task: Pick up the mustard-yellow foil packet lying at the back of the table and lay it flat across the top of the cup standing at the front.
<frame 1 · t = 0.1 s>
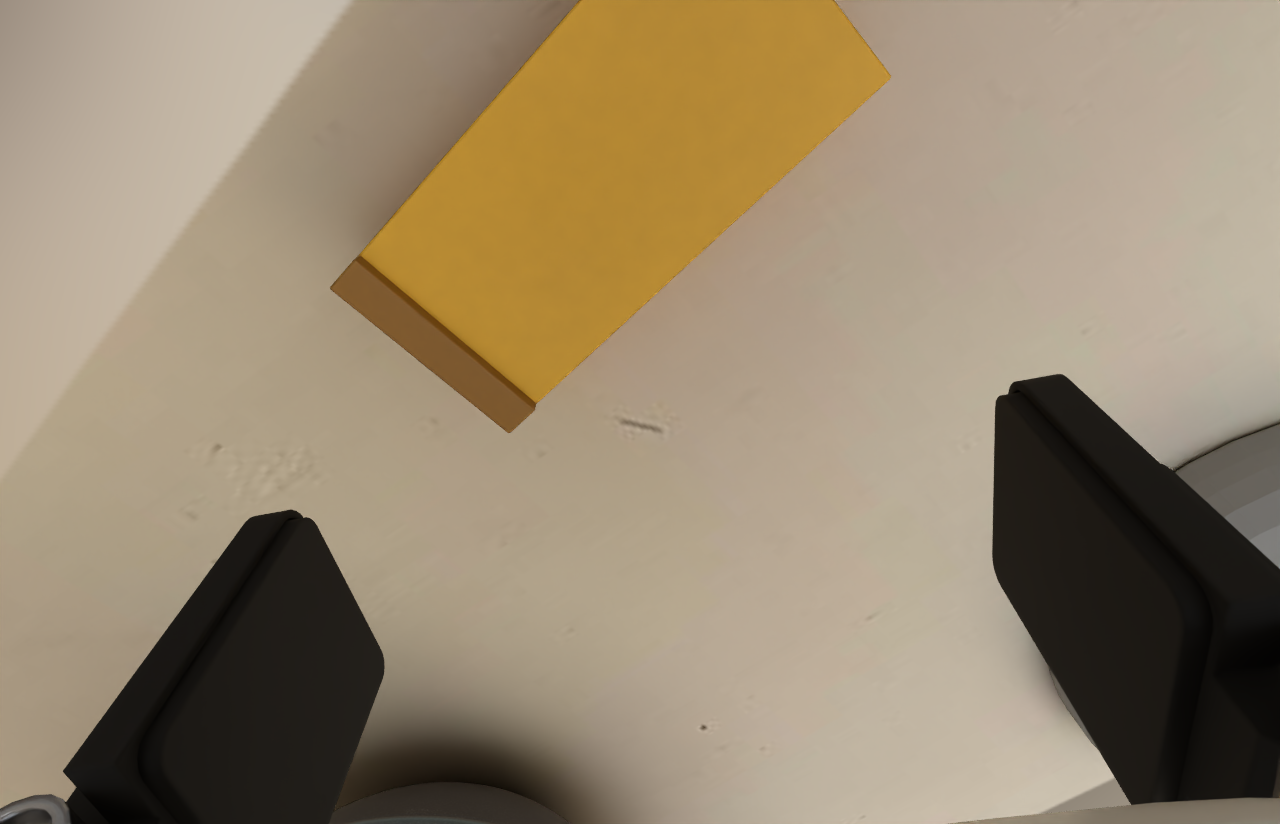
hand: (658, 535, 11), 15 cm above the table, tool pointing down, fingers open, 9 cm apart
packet: (602, 161, 23), on the table
grey frisbee: (1276, 600, 31), on the table
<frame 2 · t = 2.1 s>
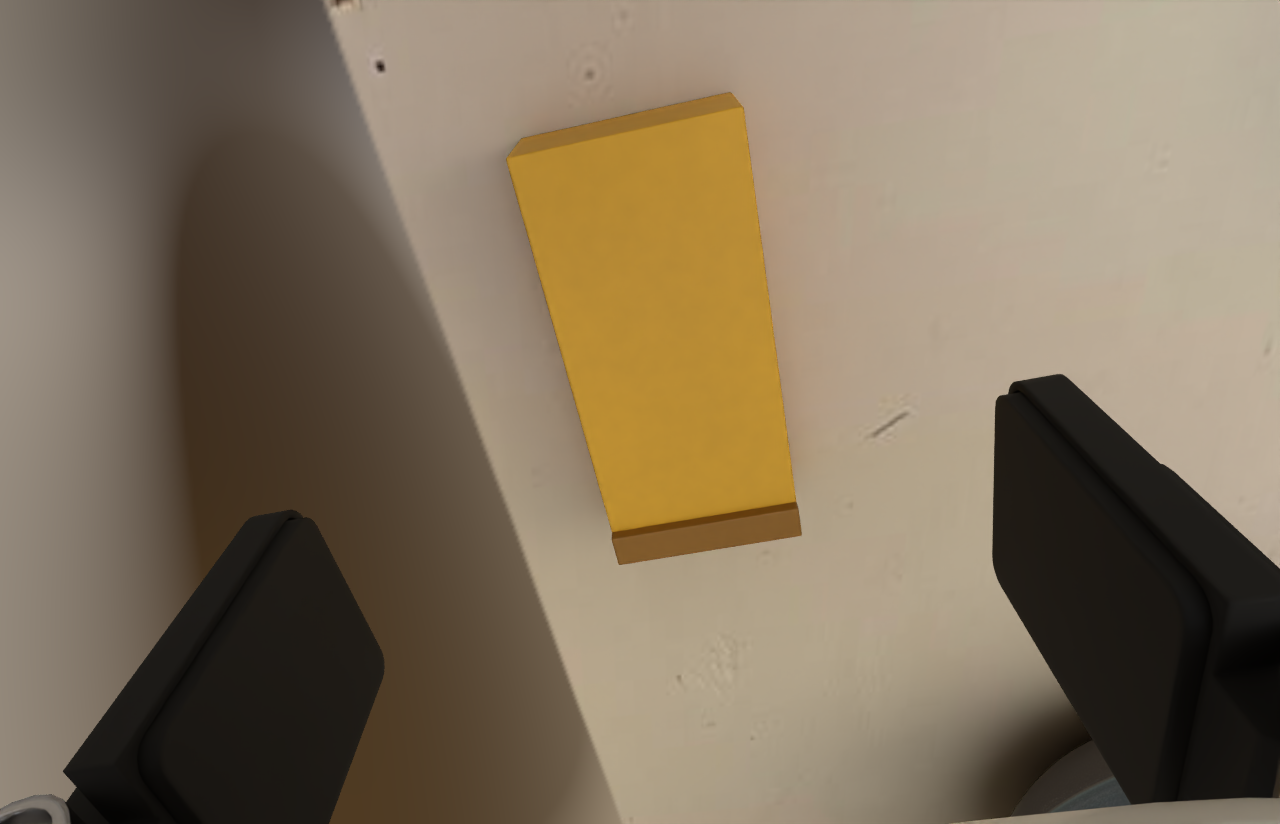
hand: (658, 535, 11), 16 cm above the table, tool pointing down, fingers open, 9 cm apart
planter: (1130, 771, 38), on the table
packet: (668, 326, 26), on the table
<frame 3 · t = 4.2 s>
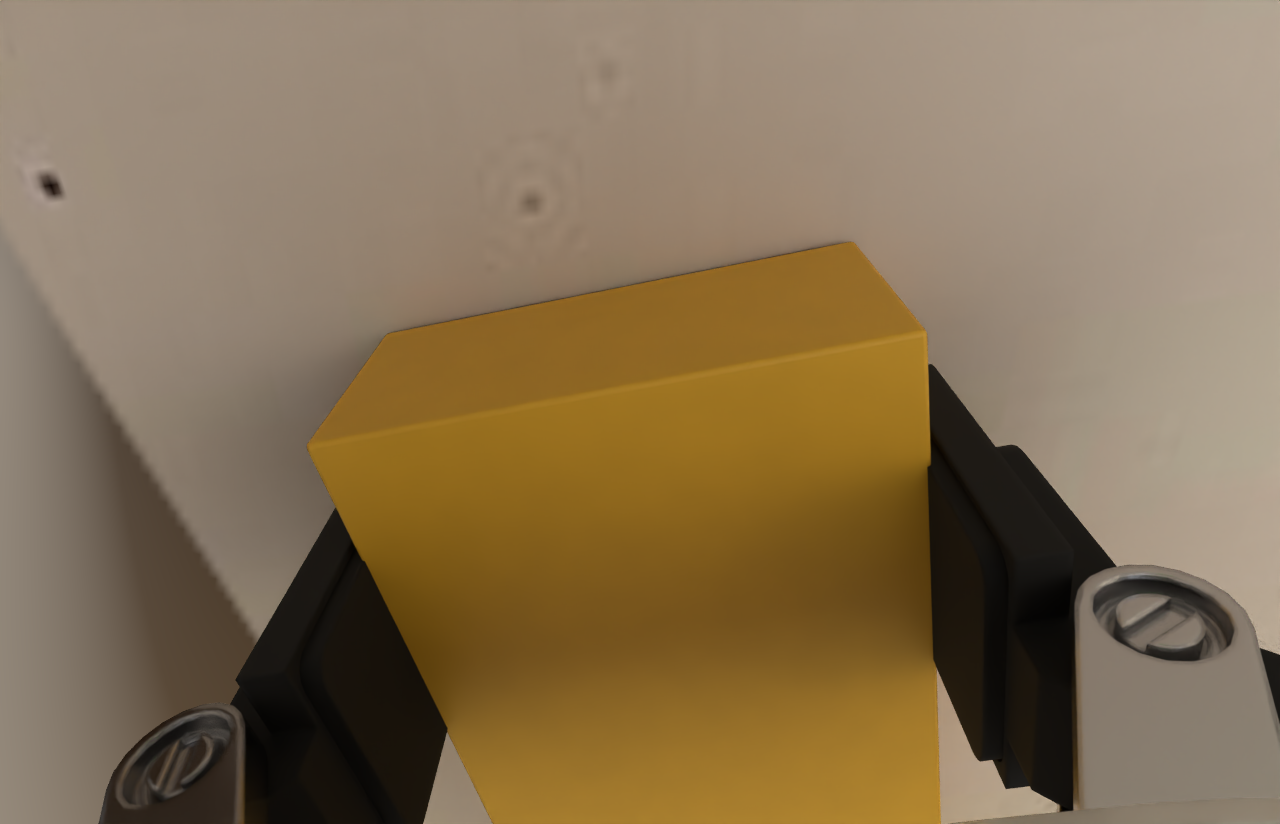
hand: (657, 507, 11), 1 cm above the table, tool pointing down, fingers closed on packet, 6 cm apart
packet: (698, 651, 14), on the table, touching gripper
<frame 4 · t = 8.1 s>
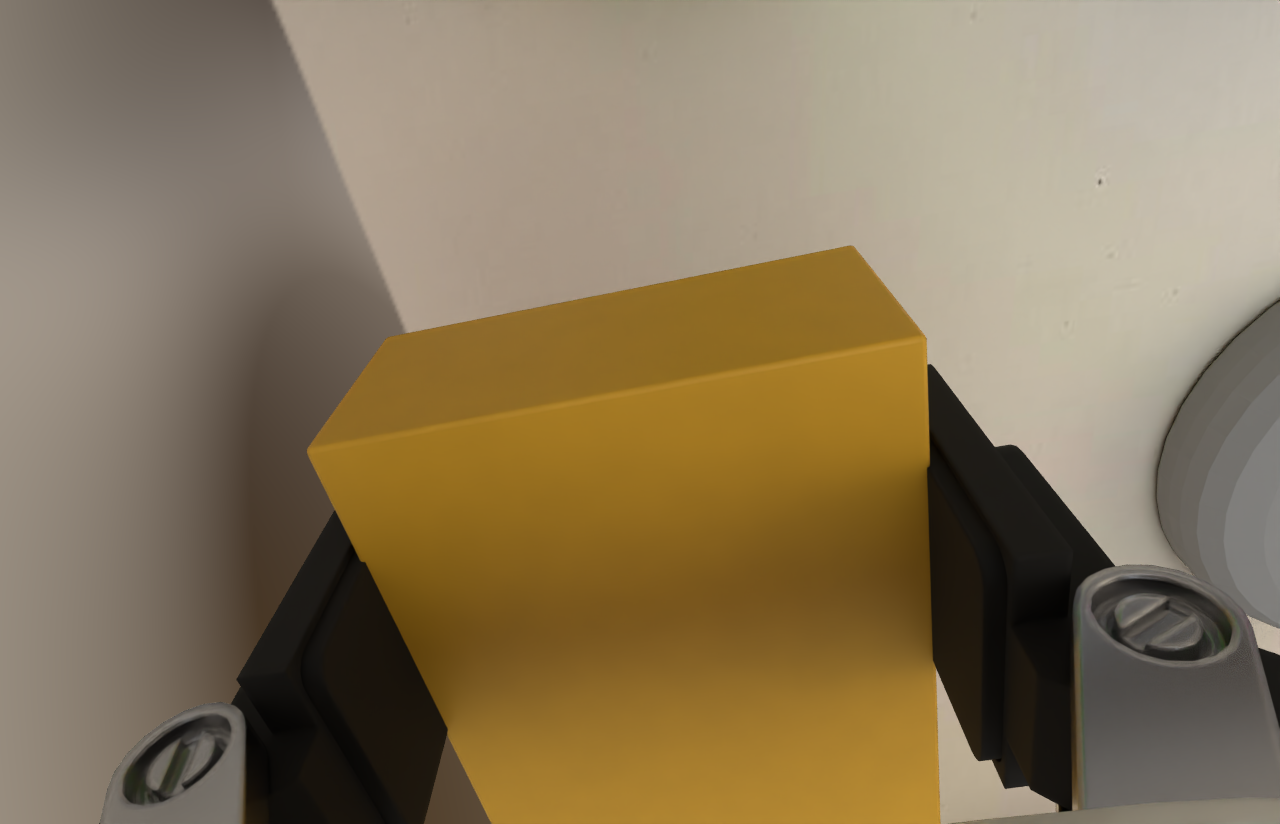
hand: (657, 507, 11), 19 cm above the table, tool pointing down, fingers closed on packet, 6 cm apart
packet: (698, 654, 14), point 18 cm above the table, touching gripper
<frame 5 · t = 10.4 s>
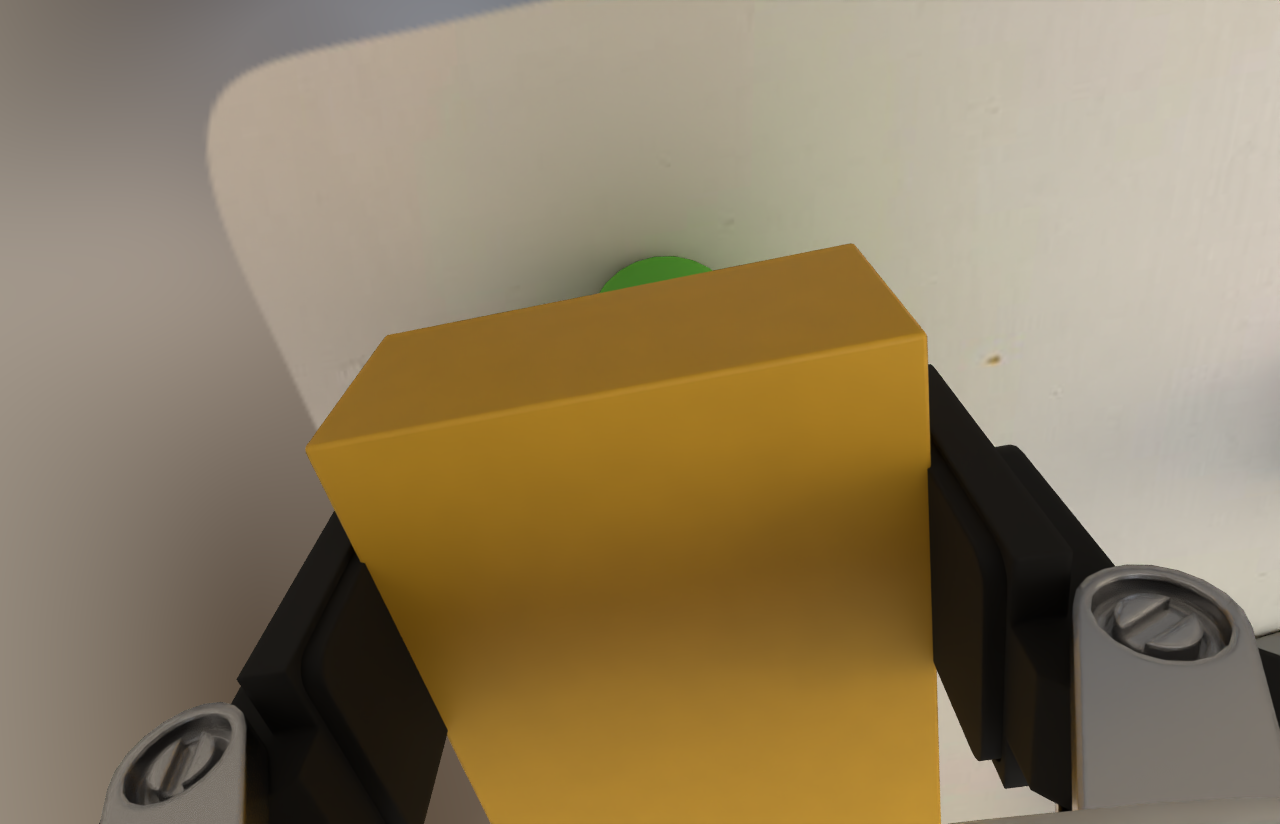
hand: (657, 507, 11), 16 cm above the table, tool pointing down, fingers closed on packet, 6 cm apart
cup: (664, 322, 27), on the table
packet: (698, 653, 14), point 15 cm above the table, touching gripper
grey frisbee: (1265, 753, 39), on the table
when the fingers open (12 cm above the table, at t = 12.1 s): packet stays where it is, resting on cup.
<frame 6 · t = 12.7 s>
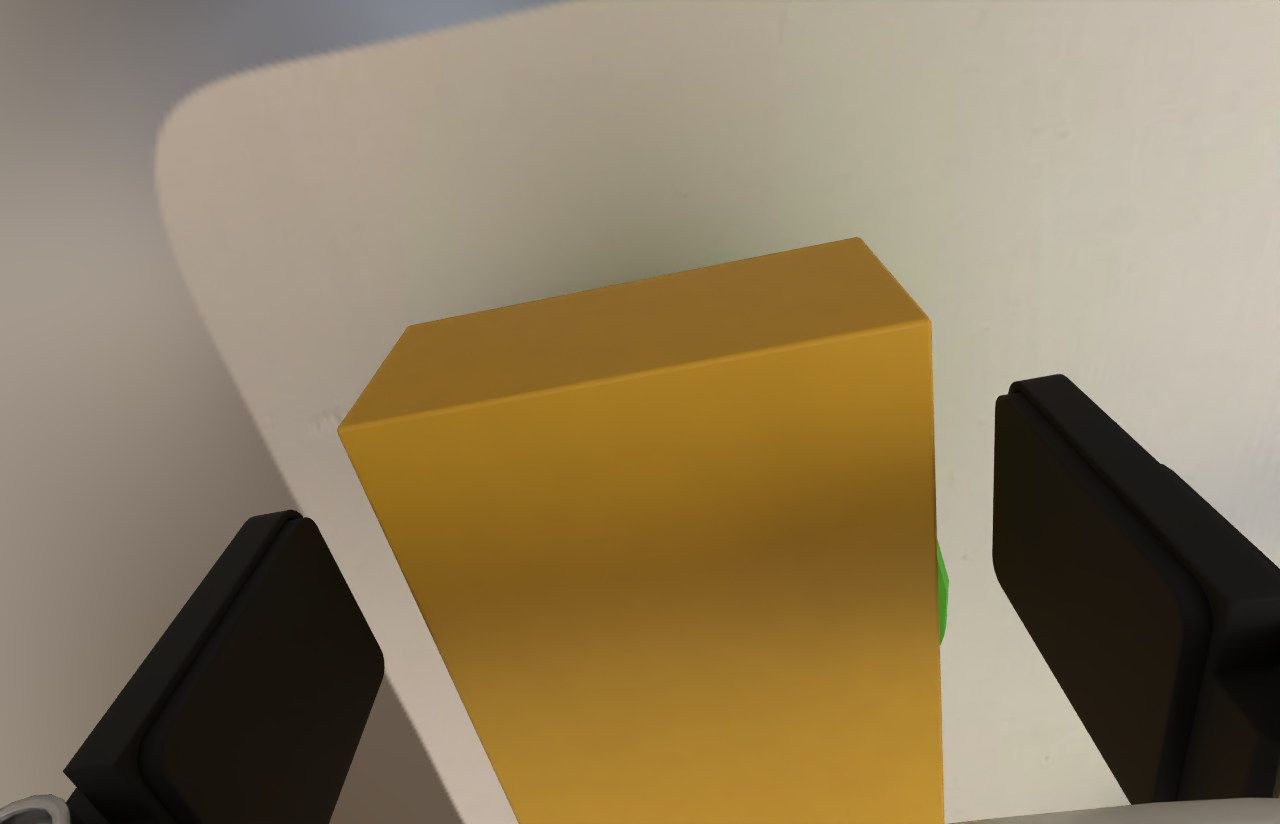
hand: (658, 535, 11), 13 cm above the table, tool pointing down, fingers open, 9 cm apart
cup: (678, 371, 24), on the table, touching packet
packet: (707, 638, 14), point 11 cm above the table, touching cup
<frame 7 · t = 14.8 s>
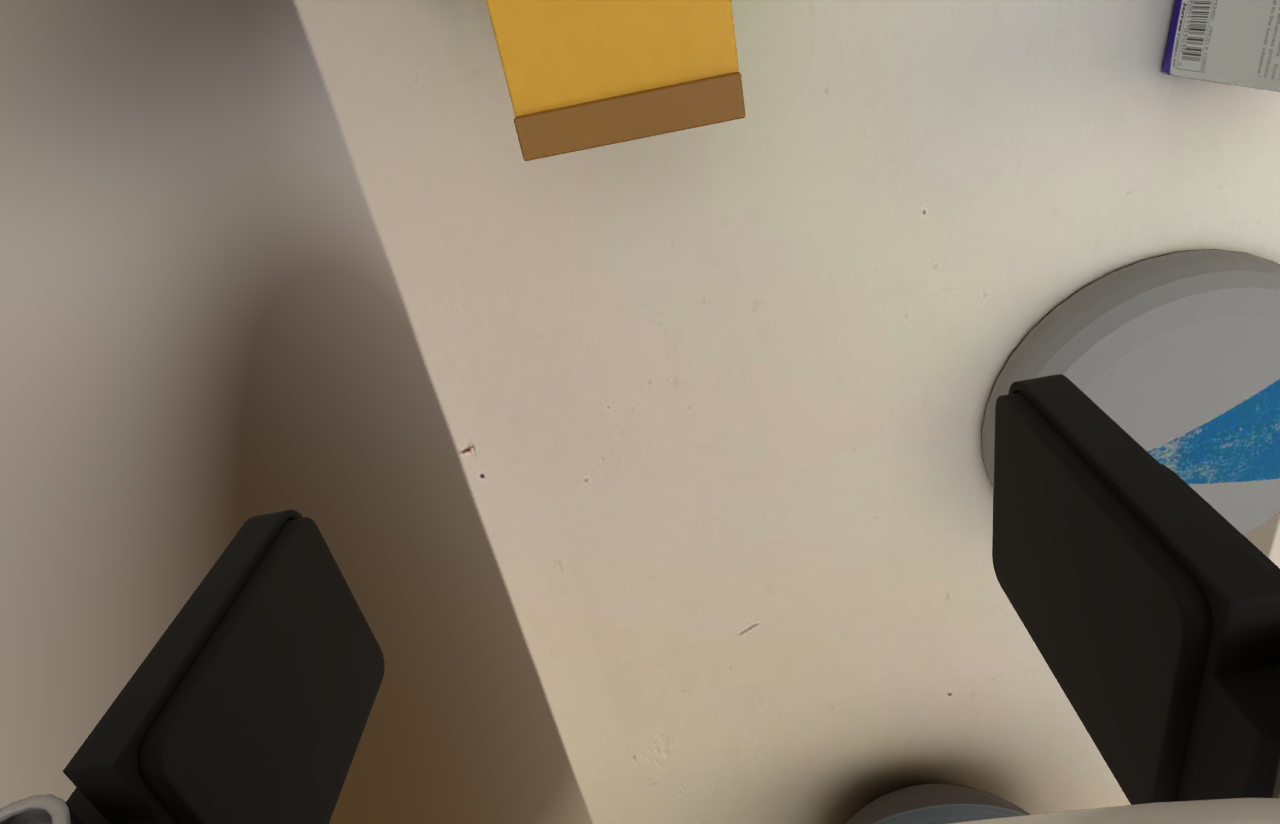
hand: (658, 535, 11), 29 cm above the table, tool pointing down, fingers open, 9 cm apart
planter: (915, 812, 62), on the table
grey frisbee: (1145, 406, 43), on the table
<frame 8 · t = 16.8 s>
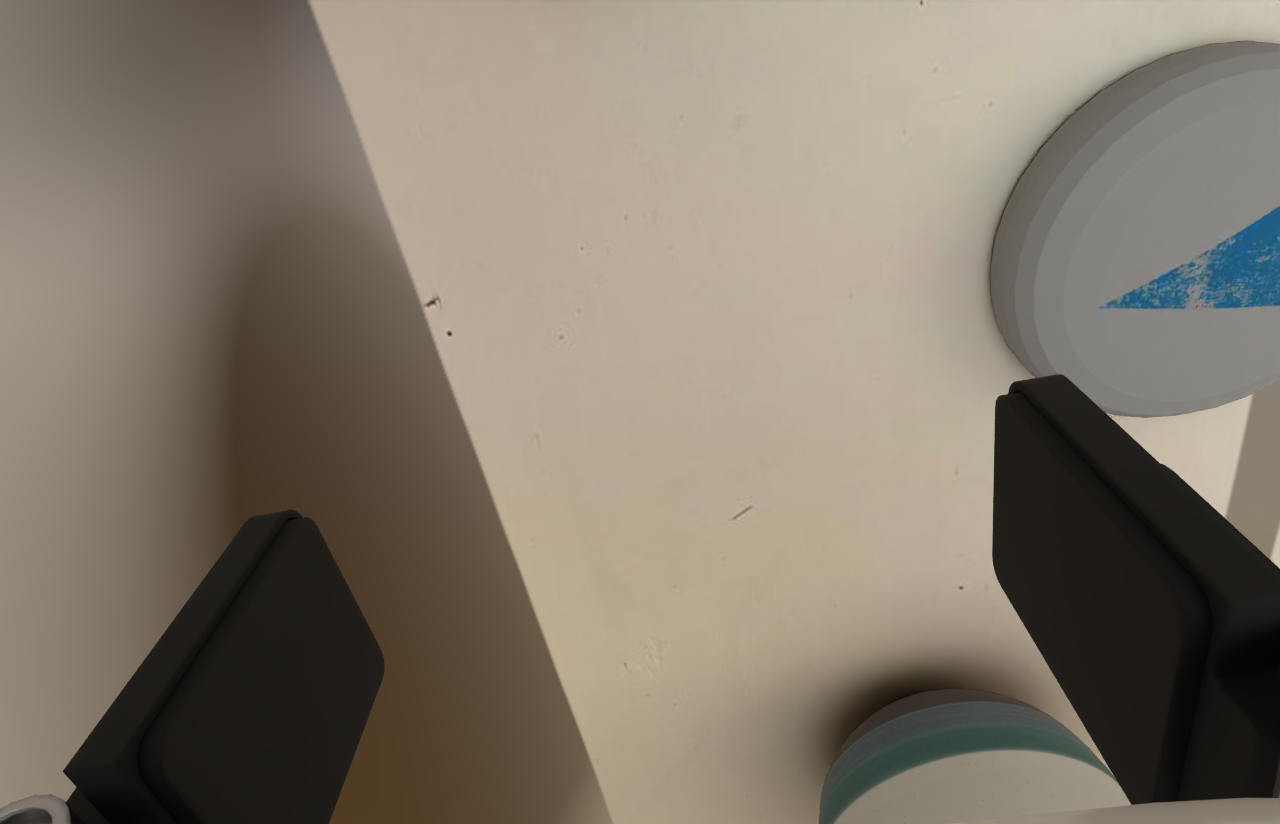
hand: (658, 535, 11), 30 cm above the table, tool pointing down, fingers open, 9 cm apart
planter: (927, 727, 58), on the table
grey frisbee: (1170, 239, 39), on the table
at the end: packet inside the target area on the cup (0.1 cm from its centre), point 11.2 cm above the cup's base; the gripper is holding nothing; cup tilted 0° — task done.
